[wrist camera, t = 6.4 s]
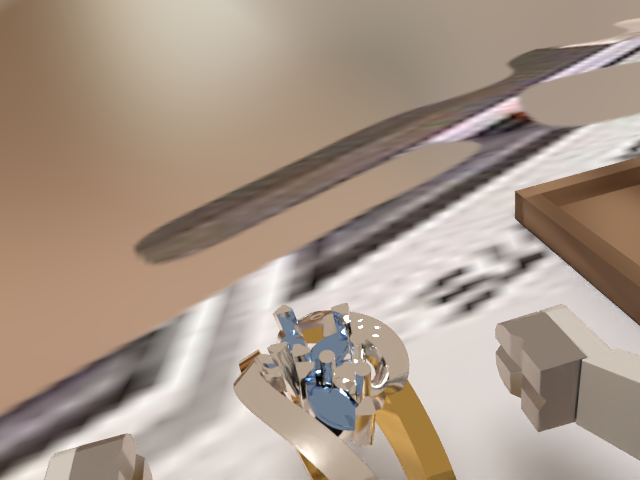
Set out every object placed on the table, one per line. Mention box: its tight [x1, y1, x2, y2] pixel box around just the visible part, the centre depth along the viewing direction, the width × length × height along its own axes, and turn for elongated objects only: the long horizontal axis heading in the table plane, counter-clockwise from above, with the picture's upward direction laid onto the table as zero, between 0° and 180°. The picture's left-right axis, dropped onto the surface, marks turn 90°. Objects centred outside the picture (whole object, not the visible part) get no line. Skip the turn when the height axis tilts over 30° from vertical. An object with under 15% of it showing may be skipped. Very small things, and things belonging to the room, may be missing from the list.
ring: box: [234, 303, 456, 480], centre depth 12 cm, size 7×3×8 cm, turn 25°
